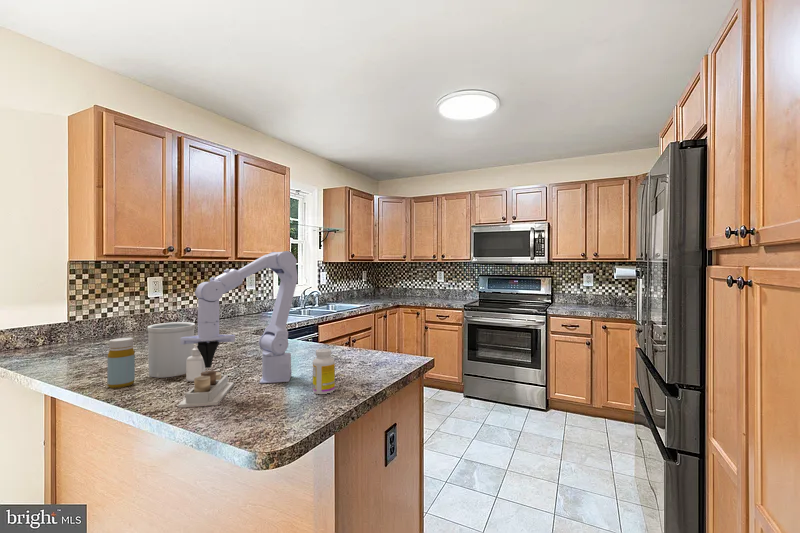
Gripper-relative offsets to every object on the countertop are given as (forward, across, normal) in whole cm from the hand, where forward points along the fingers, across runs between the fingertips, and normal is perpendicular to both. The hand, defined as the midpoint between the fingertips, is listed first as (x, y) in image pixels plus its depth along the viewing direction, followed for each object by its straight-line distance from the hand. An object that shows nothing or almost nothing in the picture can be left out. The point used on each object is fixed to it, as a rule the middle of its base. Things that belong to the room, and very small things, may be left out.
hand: (208, 366), depth 109 cm
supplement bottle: (+9, -34, +7) cm, 35 cm away
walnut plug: (+6, 0, 0) cm, 6 cm away
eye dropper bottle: (+9, +7, -18) cm, 21 cm away
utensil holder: (+9, +18, -31) cm, 37 cm away
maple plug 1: (+6, +1, +6) cm, 8 cm away
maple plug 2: (+8, 0, -5) cm, 9 cm away
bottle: (+9, +29, -19) cm, 36 cm away
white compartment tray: (+8, 0, 0) cm, 8 cm away
